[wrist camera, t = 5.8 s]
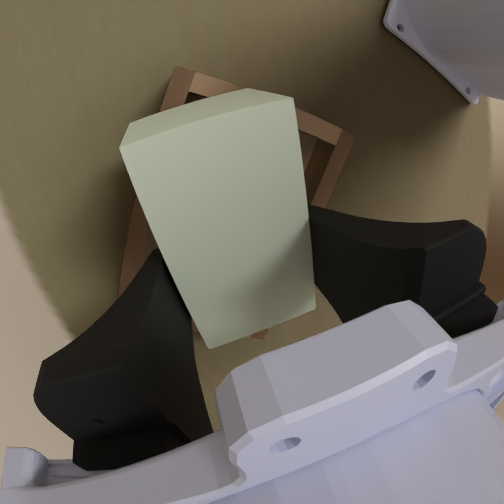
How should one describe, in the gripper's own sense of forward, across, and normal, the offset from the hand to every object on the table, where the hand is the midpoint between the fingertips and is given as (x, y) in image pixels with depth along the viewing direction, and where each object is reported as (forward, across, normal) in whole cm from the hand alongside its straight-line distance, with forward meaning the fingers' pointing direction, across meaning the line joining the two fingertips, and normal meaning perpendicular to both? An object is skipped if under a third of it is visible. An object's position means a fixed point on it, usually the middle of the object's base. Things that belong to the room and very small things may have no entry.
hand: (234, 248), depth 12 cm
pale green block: (+2, 0, -2) cm, 2 cm away
